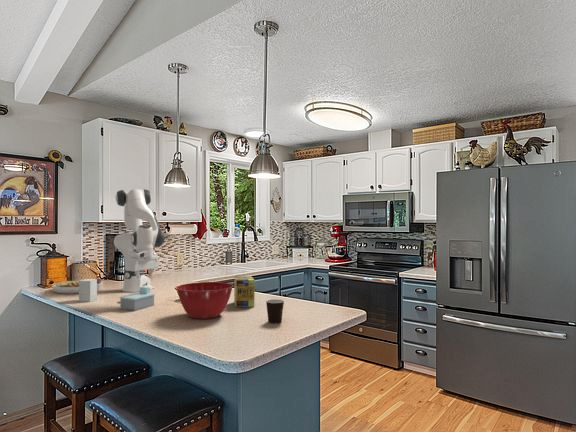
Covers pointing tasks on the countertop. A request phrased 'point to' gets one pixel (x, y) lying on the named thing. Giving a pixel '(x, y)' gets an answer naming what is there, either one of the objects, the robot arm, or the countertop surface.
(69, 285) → the bowl
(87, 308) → the countertop surface
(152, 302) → the tub
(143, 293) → the lid
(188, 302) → the mixing bowl
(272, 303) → the coffee mug
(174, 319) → the countertop surface
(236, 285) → the protein box
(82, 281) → the supplement box
